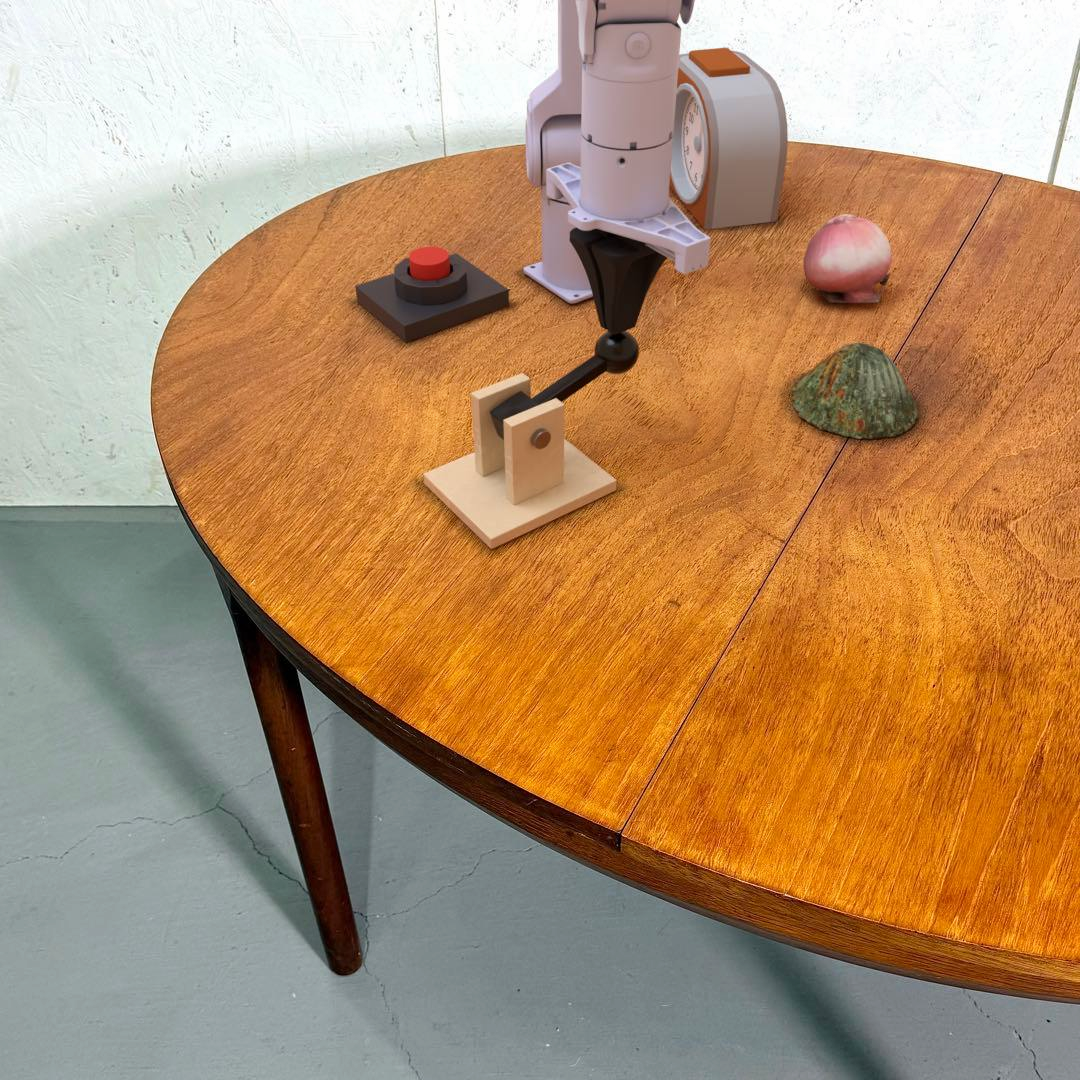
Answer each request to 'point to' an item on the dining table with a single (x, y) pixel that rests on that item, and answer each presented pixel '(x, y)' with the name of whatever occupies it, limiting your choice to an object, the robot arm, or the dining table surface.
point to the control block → (431, 298)
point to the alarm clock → (728, 139)
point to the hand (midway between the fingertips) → (618, 326)
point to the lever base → (517, 469)
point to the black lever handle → (575, 376)
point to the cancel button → (429, 263)
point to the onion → (848, 260)
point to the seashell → (856, 394)
